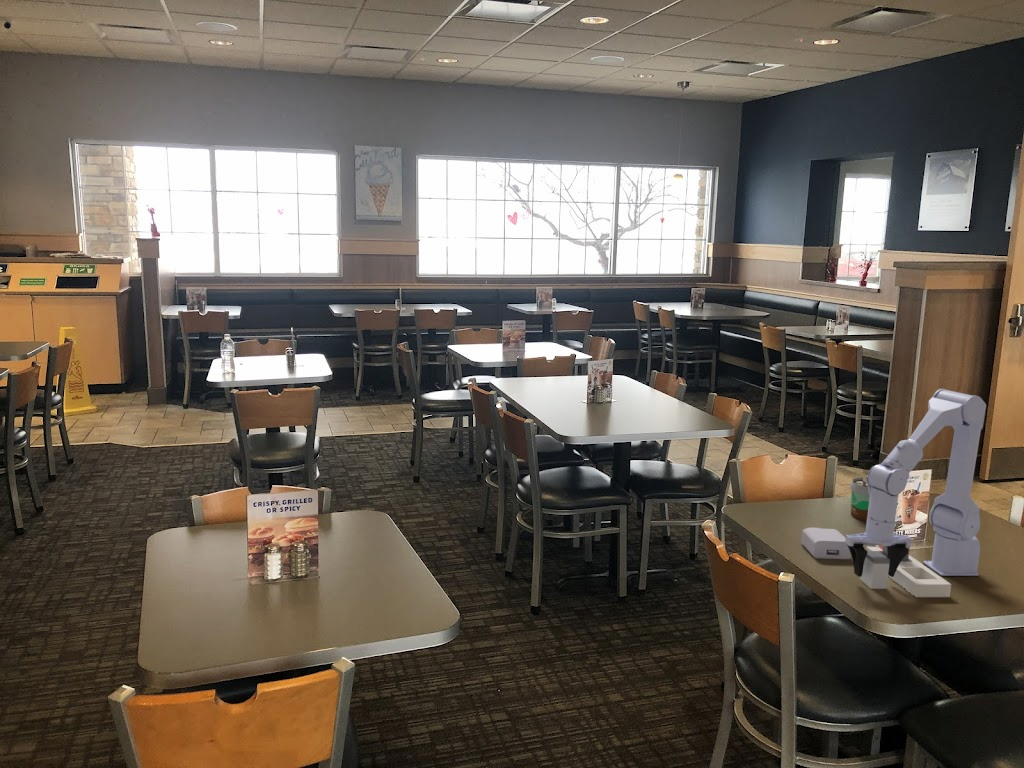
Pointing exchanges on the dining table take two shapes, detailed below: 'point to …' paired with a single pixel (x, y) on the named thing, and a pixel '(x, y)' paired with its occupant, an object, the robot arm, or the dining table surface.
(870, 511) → the robot arm
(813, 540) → the charger
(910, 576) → the power strip
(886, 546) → the charcoal plug
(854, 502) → the food container
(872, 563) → the grey plug
